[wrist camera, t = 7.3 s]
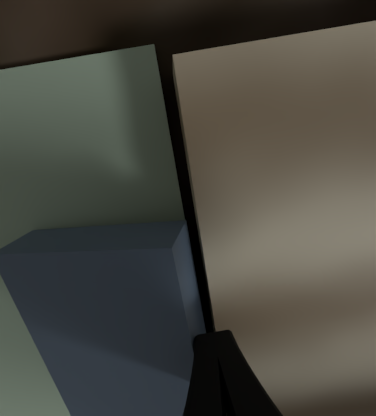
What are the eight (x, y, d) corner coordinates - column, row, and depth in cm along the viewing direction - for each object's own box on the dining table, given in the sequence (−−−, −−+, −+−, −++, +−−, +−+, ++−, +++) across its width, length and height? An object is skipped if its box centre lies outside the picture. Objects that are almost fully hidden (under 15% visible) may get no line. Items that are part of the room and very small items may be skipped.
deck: (405, 381, 16) (454, 435, 13) (226, 411, 16) (237, 472, 13) (478, 23, 9) (607, -19, 7) (172, 74, 9) (172, 54, 7)
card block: (218, 400, 12) (213, 450, 11) (97, 385, 14) (75, 426, 12) (186, 220, 9) (171, 248, 7) (32, 230, 11) (-11, 254, 9)
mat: (220, 422, 16) (221, 429, 16) (-73, 472, 16) (-78, 480, 16) (154, 47, 9) (153, 44, 9) (-376, 136, 9) (-400, 136, 9)
